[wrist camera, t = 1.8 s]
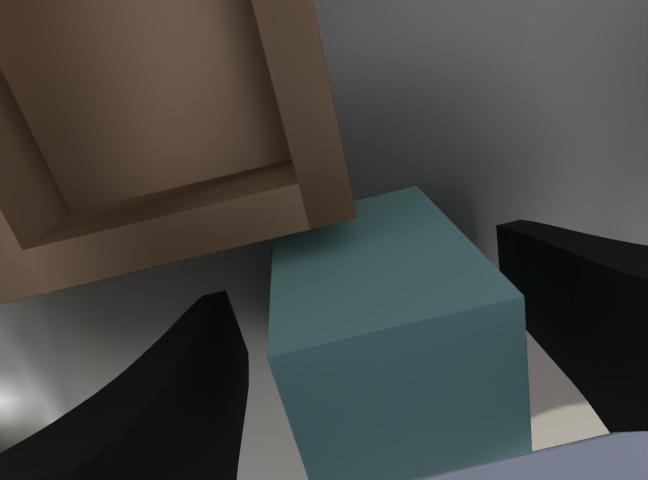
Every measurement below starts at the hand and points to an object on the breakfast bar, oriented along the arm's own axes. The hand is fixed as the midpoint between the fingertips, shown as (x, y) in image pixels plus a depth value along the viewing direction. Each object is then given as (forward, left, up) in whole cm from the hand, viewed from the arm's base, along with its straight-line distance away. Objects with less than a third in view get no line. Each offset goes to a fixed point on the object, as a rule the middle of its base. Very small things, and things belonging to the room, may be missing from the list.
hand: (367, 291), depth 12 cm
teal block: (0, 0, -2) cm, 2 cm away
